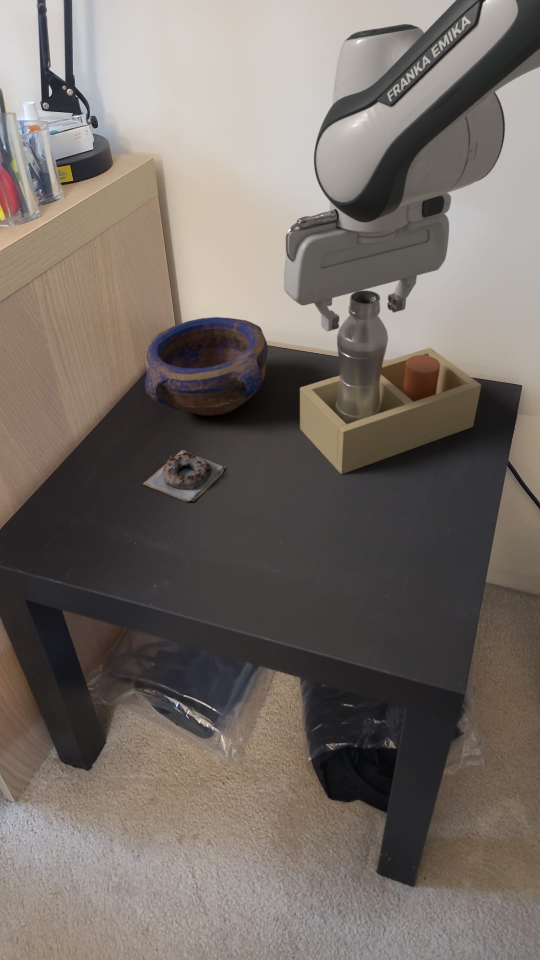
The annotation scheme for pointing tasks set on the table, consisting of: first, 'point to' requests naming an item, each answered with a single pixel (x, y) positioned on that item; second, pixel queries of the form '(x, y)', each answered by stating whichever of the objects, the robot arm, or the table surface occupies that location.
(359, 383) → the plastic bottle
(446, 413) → the divided box
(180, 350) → the bowl
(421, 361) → the orange cylinder
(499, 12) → the robot arm
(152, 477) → the donut
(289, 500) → the table surface
